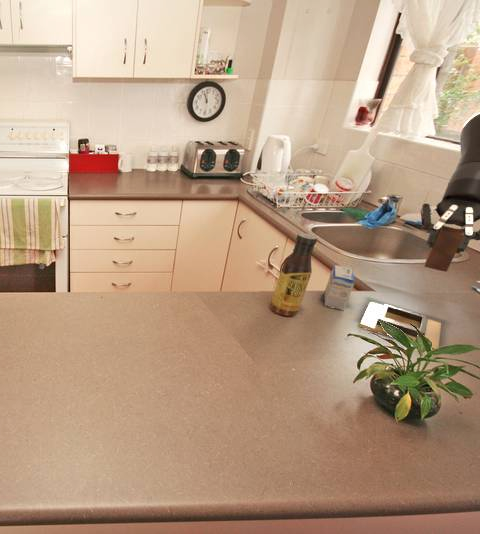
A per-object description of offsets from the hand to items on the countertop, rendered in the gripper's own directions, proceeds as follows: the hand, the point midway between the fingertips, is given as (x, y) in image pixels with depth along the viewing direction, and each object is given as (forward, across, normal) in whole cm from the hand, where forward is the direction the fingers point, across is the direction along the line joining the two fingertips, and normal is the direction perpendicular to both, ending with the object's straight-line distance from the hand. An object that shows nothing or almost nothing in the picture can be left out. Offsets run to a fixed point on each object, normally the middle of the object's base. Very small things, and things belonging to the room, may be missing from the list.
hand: (444, 248), depth 87 cm
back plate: (+19, -2, +6) cm, 20 cm away
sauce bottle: (+28, -24, -2) cm, 37 cm away
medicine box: (+18, -16, +8) cm, 25 cm away
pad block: (+2, 0, +5) cm, 5 cm away
